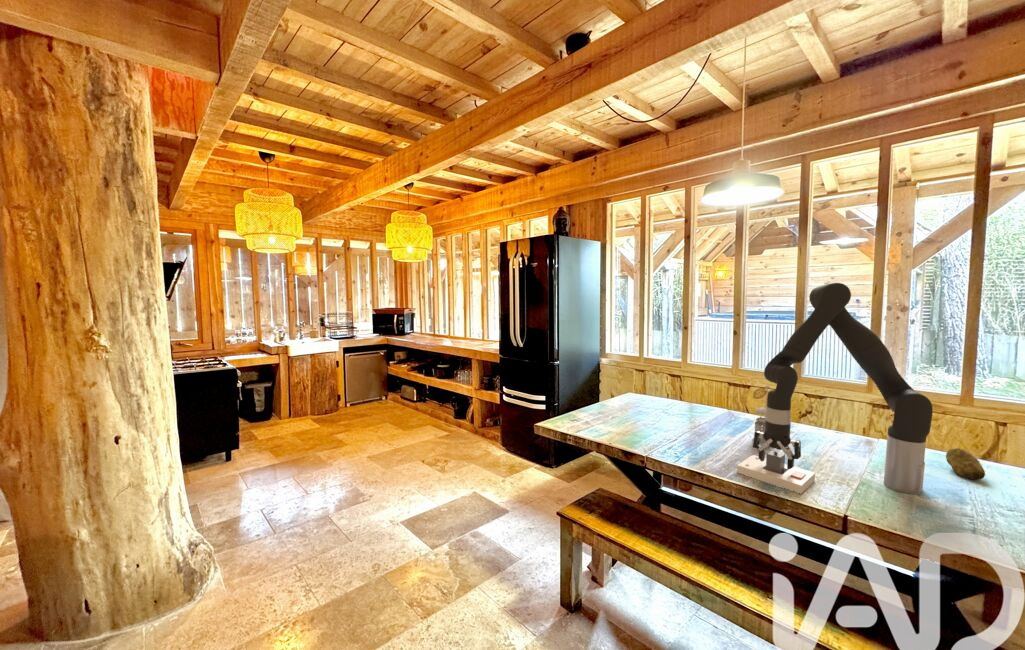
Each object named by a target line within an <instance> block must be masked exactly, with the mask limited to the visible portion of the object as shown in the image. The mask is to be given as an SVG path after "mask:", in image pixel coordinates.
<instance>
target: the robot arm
mask: <svg viewBox="0 0 1025 650" xmlns="http://www.w3.org/2000/svg"><path fill="white" fill-rule="evenodd" d="M851 297H852V293H851V289H850V287H848V286H847V285H846V284H844V283H842V282H829V283H825V284H823V285H819V286H816V287H814V288H813V289H812V290H811V291H810V293H809V302H810V304H811V306H812V307H813V308H814V310H813V311H812V313H811V314H810V315H809V316H808V318H807V319H806V320H805V321H804V322H803V323H802V324H801V325H800V326H798V328H797V329H796V330H795V331H794V332H793V333H792V334H791V336H790V338H789V339H788V340H787V341H786V344H785V345H784V346H783V348H782V350H780V351H779V352H778V353H777V354H776V355H775V356H774V357H773V358H772V359H771V360H769V362H768V363H766V366H765V367H764V371H763V375H764V378H765V379H766V380H767V381H768V382H771V383H774V384H776V386H775V389H772V390H769V391H767V395H766V399H767V409H766V415H765V416H764V418H765V433H761V432H760V431H757V432H755V431H754V432H755V433H754V435H753V438H754V442H752V443H753V444H752V447H753V448H755V449H757V450H758V456H759V459H760V461H762V462H763V461H764V460H765V459H766V450H765V449H766V448H767V447H769V448H772V449H776V450H779V451H783V452H782V453H783V454H785V456H786V457H787V462H786V463H787V464H786V465H787V469H791V468H793V467H795V460H799V459H800V458H801V457H802V446H801V445H802V443H801V441H800V440H792V439H791V426H792V425H791V424H792V411H791V408H792V398H793V395H794V392H795V390H796V387H797V384H798V380H799V376H798V373H797V371H796V369H795V368H794V367H792V366H793V364H801V363H802V362H803V361H805V359H806V358H807V356H808V354H809V353H810V351H811V349H813V346H814V345H815V344H816V342H817V341H818V339H819V337H820V336H821V335H822V334H823V332H825V329H826V328H827V327H828V326H830V328H832V330H833V331H834V333H835V335H836V336H837V337H838V338H839V340H840V341H841V342H842V344H843V345H844V346H845V347H846V349H847V351H848V352H849V354H850V355H851V356H852V358H853V360H855V362H856V363H857V364H858V366H860V368H861V369H862V370H863V372H864V373H866V375H867V376H868V377H869V378H870V379H871V380H872V381H873V383H874V384H875V386H876V387H877V388H878V390H879V392H880V394H881V396H882V397H883V400H884V401H885V403H886V405H887V407H888V408H889V409H890V411H892V412H894V414H893V420H892V424H891V425H889V426H888V428H887V437H886V448H885V462H884V463H885V464H884V474H883V484H884V485H885V487H888V488H889V489H891V490H894V491H897V492H900V493H906V494H912V495H918V496H921V494H922V492H923V489H924V477H925V467H926V462H925V455H926V454H925V453H926V444H927V437H928V436H929V434H930V432H931V427H932V419H933V412H934V411H933V410H934V409H933V404H932V401H931V400H930V399H929V398H928V397H927V396H925V395H924V394H922V393H919V392H918V391H916V390H915V389H914V388H913V387H911V385H909V384H908V382H907V381H906V380H905V379H904V377H903V376H901V374H900V373H899V371H898V369H897V367H896V365H895V362H894V358H893V356H892V355H891V353H890V351H889V349H888V348H887V346H886V345H885V344H884V342H883V341H882V339H881V338H880V337H879V336H878V335H877V334H876V333H875V332H874V331H872V330H871V329H870V328H869V327H867V326H866V325H864V324H863V323H862V322H860V321H859V320H857V319H856V318H855V317H854V316H852V314H850V312H849V311H848V310H847V308H846V306H847V305H848V304H849V303H850V300H851ZM762 436H763V437H764V439H765V441H766V442H765V443H764V444H763V445H759V444H760V438H762ZM790 444H791V445H792V447H793V449H794V450H793V451H794V452H793V451H792V449H791V447H790Z"/></svg>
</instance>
